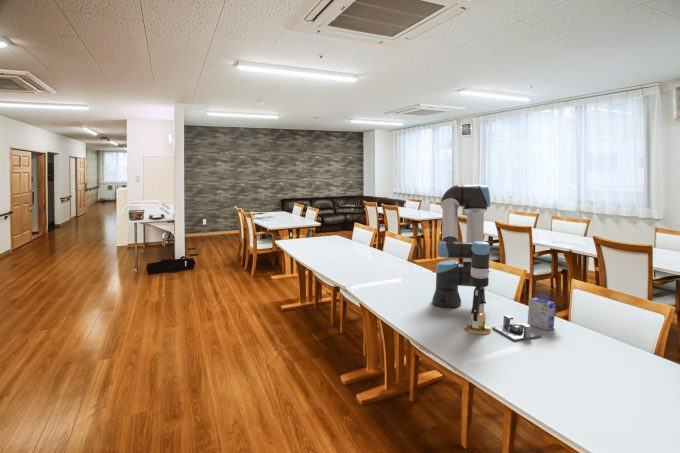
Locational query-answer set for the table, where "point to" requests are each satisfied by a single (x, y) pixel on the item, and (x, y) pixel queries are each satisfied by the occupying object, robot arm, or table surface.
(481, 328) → the bell
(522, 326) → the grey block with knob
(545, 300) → the ink cartridge box
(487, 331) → the coaster
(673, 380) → the table surface
